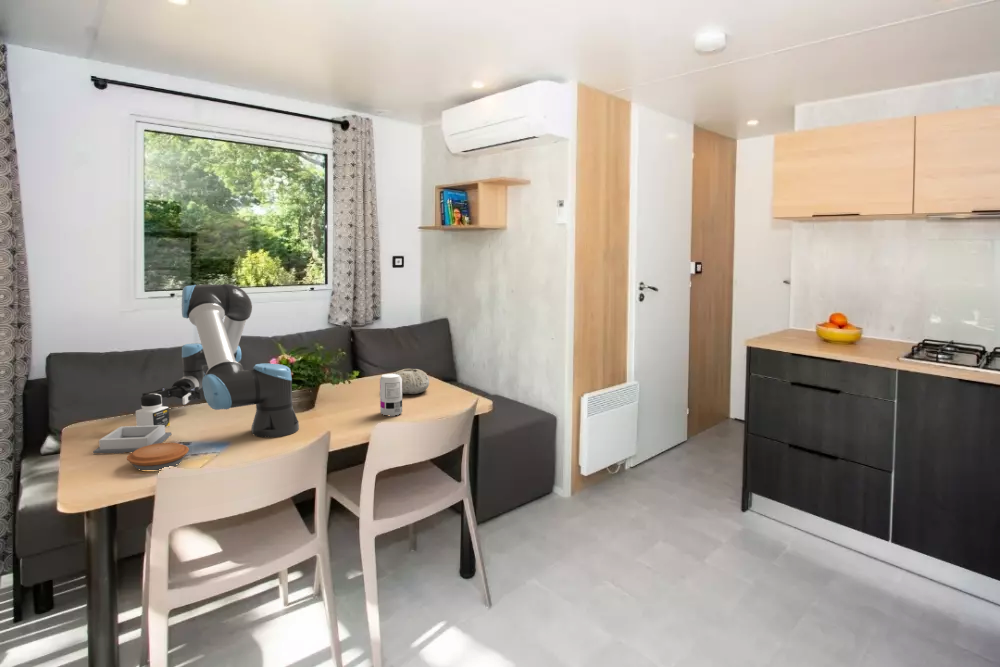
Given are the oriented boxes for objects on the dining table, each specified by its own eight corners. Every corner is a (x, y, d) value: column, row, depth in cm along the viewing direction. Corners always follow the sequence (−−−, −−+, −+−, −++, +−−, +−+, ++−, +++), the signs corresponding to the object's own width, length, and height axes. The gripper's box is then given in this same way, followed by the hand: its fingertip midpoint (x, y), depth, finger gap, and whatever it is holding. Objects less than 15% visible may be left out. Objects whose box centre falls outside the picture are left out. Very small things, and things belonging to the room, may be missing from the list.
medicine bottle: (154, 432, 194) (151, 398, 192) (136, 430, 196) (133, 396, 194) (170, 426, 201) (167, 392, 199) (153, 424, 202) (150, 391, 201)
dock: (171, 435, 192) (170, 423, 191) (150, 451, 176) (149, 439, 175) (118, 437, 189) (117, 425, 188) (93, 454, 173) (92, 441, 173)
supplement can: (376, 415, 217) (375, 376, 215) (388, 409, 225) (387, 372, 222) (394, 417, 214) (394, 378, 212) (406, 412, 222) (405, 374, 219)
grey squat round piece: (422, 398, 241) (422, 375, 240) (382, 396, 245) (381, 373, 243) (434, 388, 259) (434, 367, 257) (397, 386, 262) (396, 365, 260)
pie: (116, 467, 164) (115, 450, 163) (171, 451, 177) (170, 436, 176) (145, 479, 156) (144, 462, 155) (200, 462, 169) (199, 445, 168)
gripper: (219, 395, 230) (201, 410, 209) (151, 397, 226) (126, 412, 205) (218, 377, 229) (199, 390, 208) (150, 378, 225) (124, 392, 204)
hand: (163, 401), depth 207 cm, fingers open, 13 cm apart
